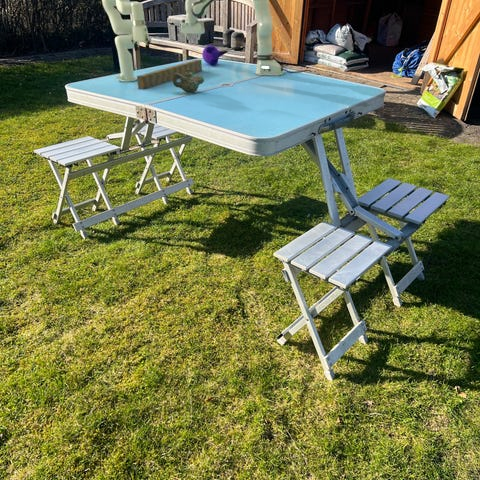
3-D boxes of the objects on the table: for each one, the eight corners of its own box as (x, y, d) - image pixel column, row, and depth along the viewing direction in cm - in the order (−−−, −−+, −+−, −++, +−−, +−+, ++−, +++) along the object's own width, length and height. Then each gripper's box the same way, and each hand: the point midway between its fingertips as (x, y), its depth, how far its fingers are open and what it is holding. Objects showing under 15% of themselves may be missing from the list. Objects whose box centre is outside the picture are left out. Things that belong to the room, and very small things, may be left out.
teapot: (202, 89, 310) (201, 66, 302) (206, 92, 300) (205, 69, 293) (172, 92, 304) (169, 68, 296) (175, 95, 295) (173, 71, 287)
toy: (212, 67, 383) (203, 66, 406) (231, 60, 386) (220, 59, 410) (206, 48, 375) (197, 48, 399) (225, 41, 378) (215, 41, 402)
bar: (143, 89, 314) (142, 76, 310) (138, 88, 316) (136, 76, 312) (202, 70, 373) (201, 59, 368) (197, 70, 375) (196, 59, 370)
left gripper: (152, 23, 298) (155, 50, 307) (132, 22, 305) (135, 49, 314) (145, 24, 292) (148, 52, 301) (125, 23, 299) (128, 50, 308)
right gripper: (205, 20, 348) (206, 39, 355) (183, 19, 356) (185, 38, 363) (201, 21, 343) (202, 40, 350) (179, 20, 352) (180, 39, 358)
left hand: (142, 50), depth 307 cm, fingers open, 9 cm apart
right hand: (193, 39), depth 357 cm, fingers open, 8 cm apart
